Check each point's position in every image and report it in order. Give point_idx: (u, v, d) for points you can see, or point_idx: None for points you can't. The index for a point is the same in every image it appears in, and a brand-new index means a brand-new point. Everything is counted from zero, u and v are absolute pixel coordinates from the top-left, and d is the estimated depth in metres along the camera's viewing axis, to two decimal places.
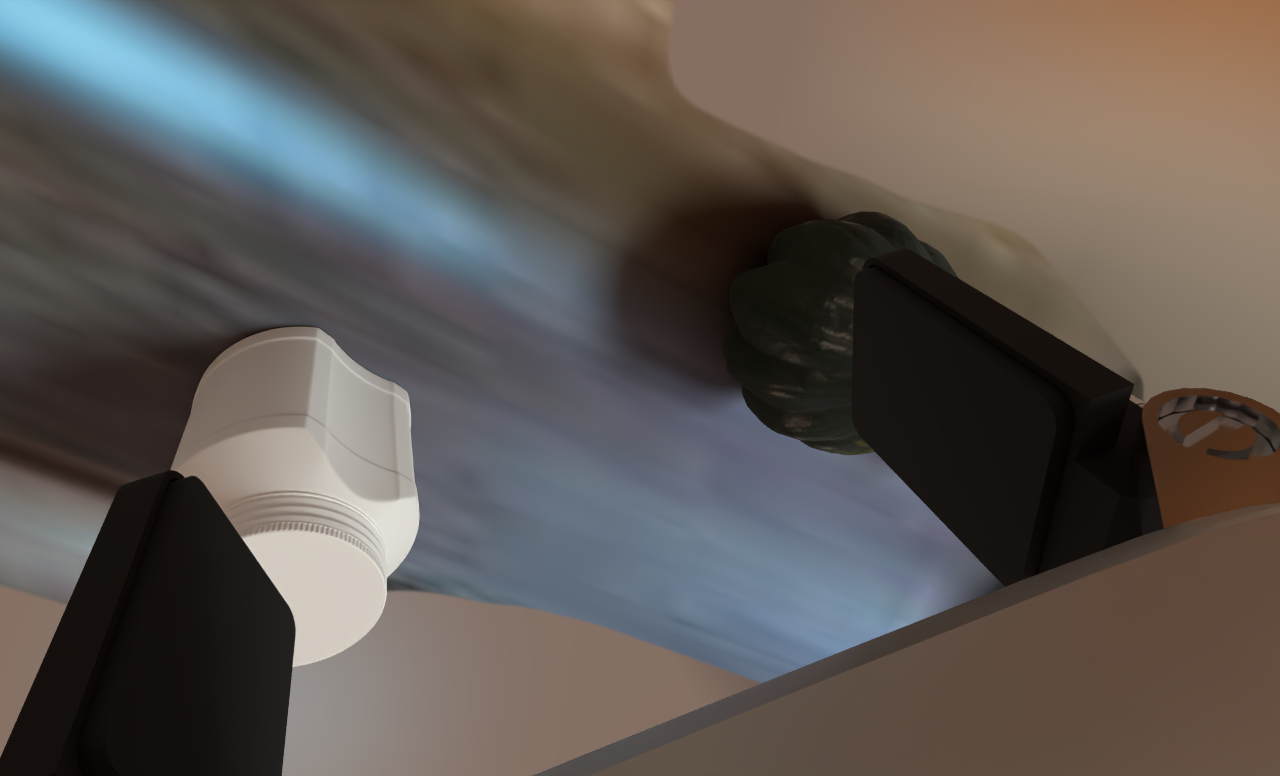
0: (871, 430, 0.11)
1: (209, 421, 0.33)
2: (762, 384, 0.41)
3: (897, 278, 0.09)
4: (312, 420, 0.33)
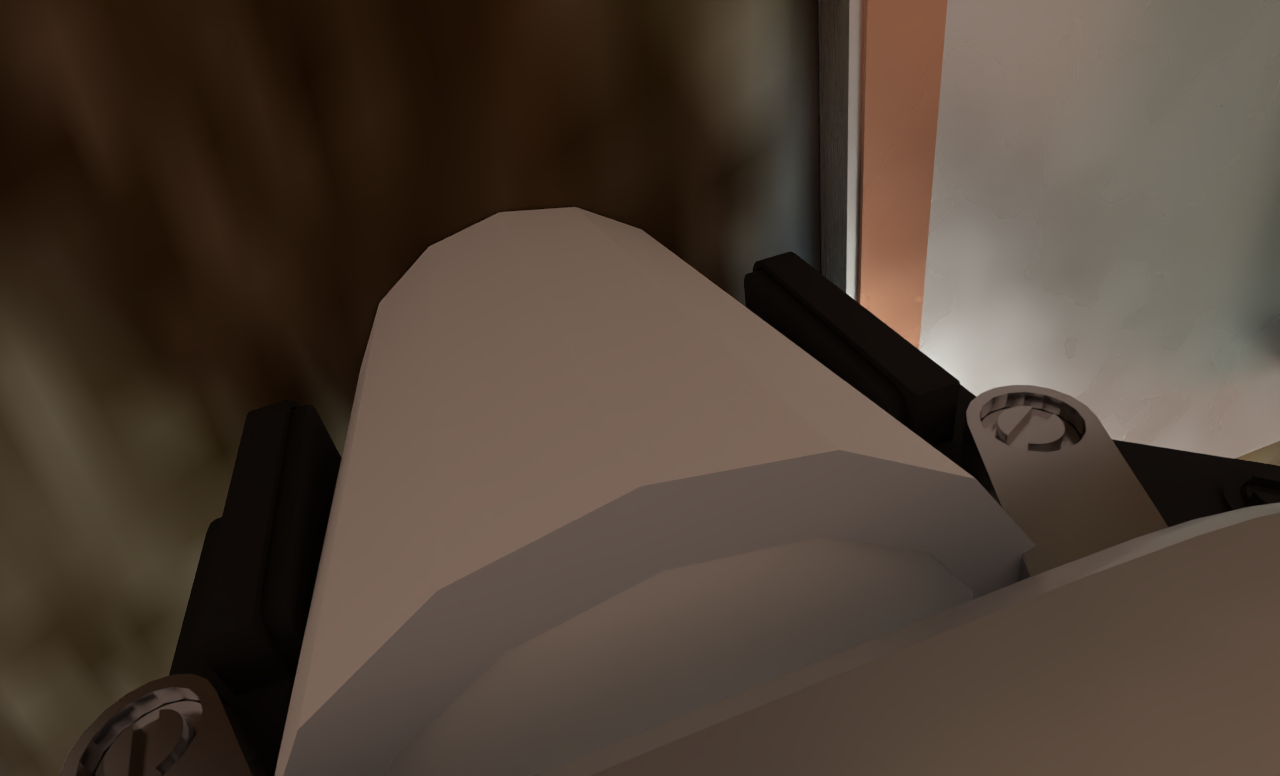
0: None
1: None
2: None
3: (777, 281, 0.10)
4: None
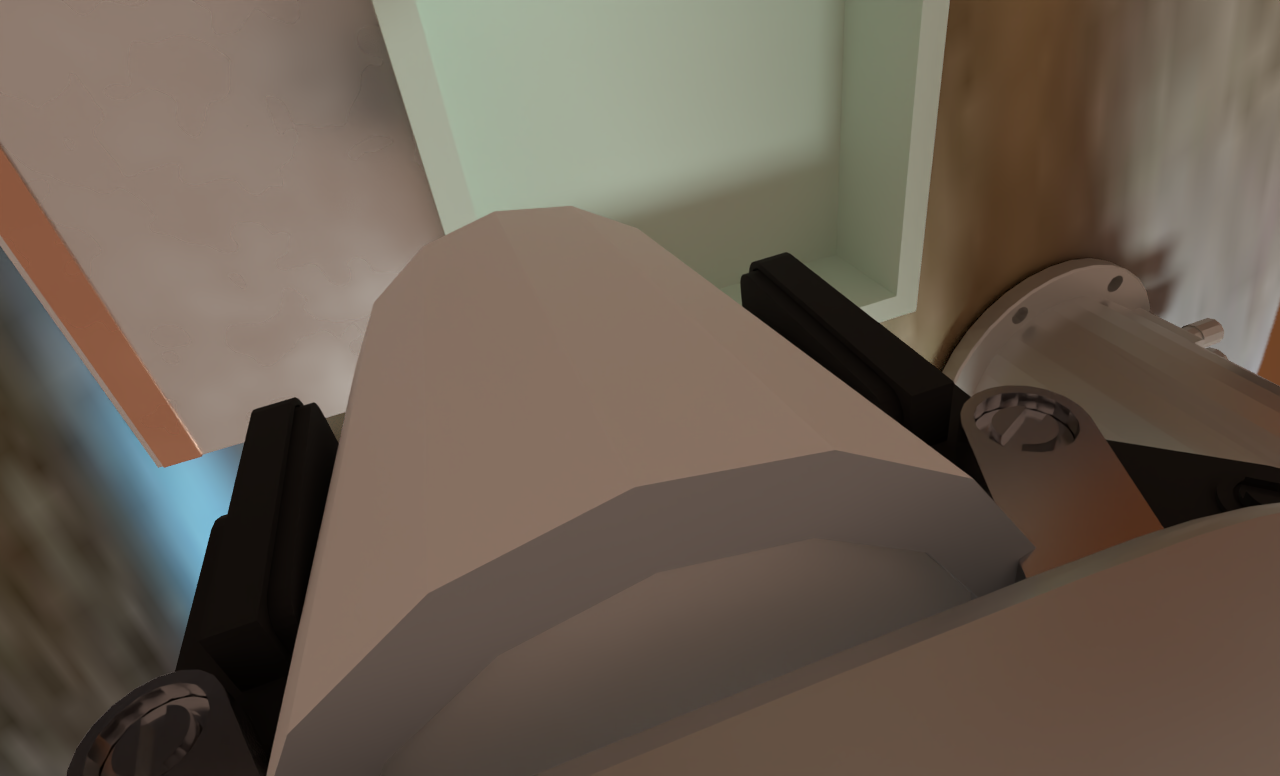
0: None
1: None
2: None
3: (773, 281, 0.10)
4: None
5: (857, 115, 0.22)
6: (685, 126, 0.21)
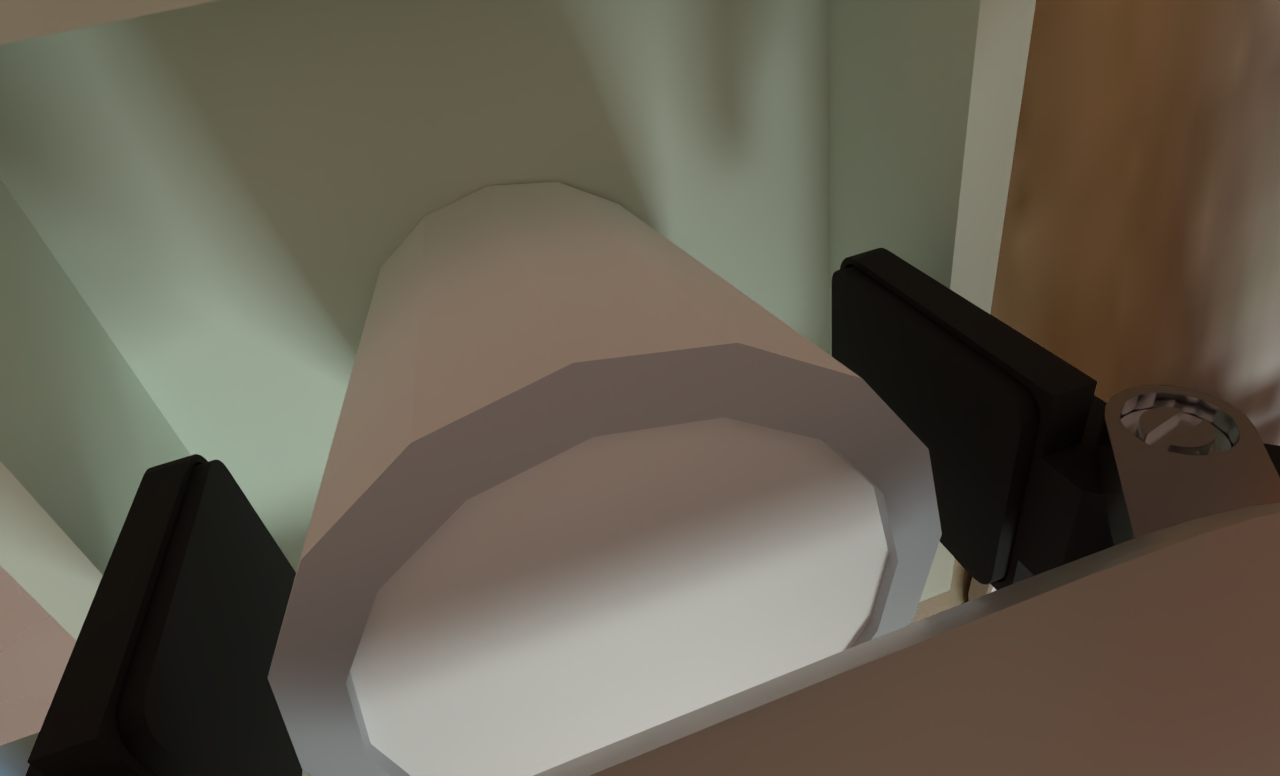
0: None
1: None
2: None
3: (872, 277, 0.10)
4: None
5: None
6: None
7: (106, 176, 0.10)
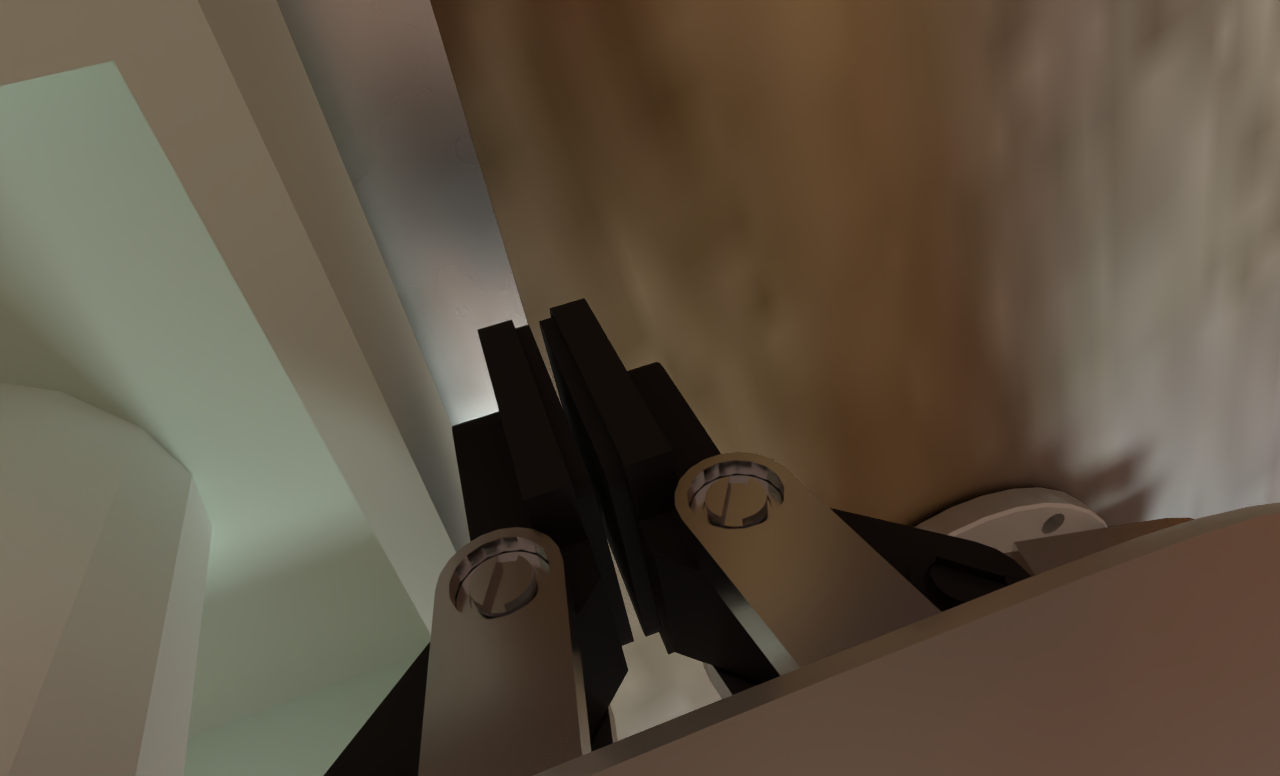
0: None
1: None
2: None
3: (559, 330, 0.10)
4: None
5: None
6: None
7: None
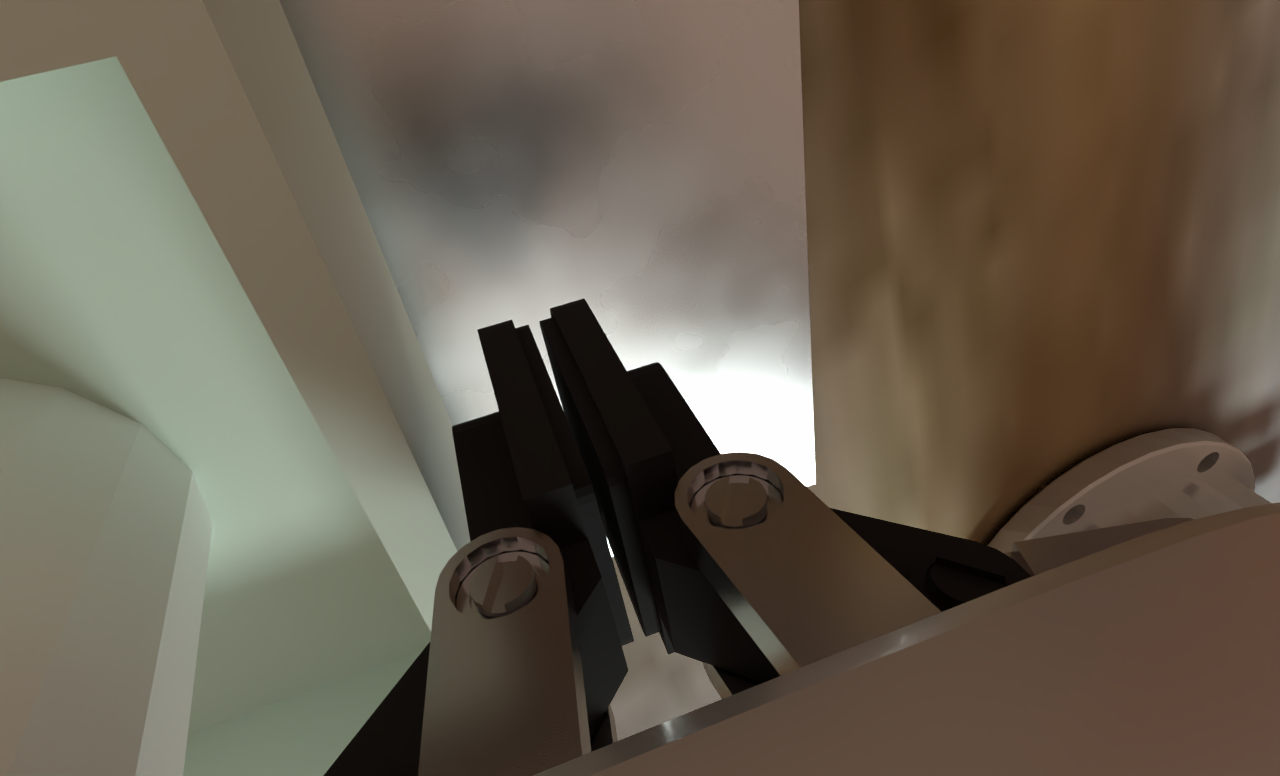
0: None
1: None
2: None
3: (559, 330, 0.10)
4: None
5: None
6: None
7: None
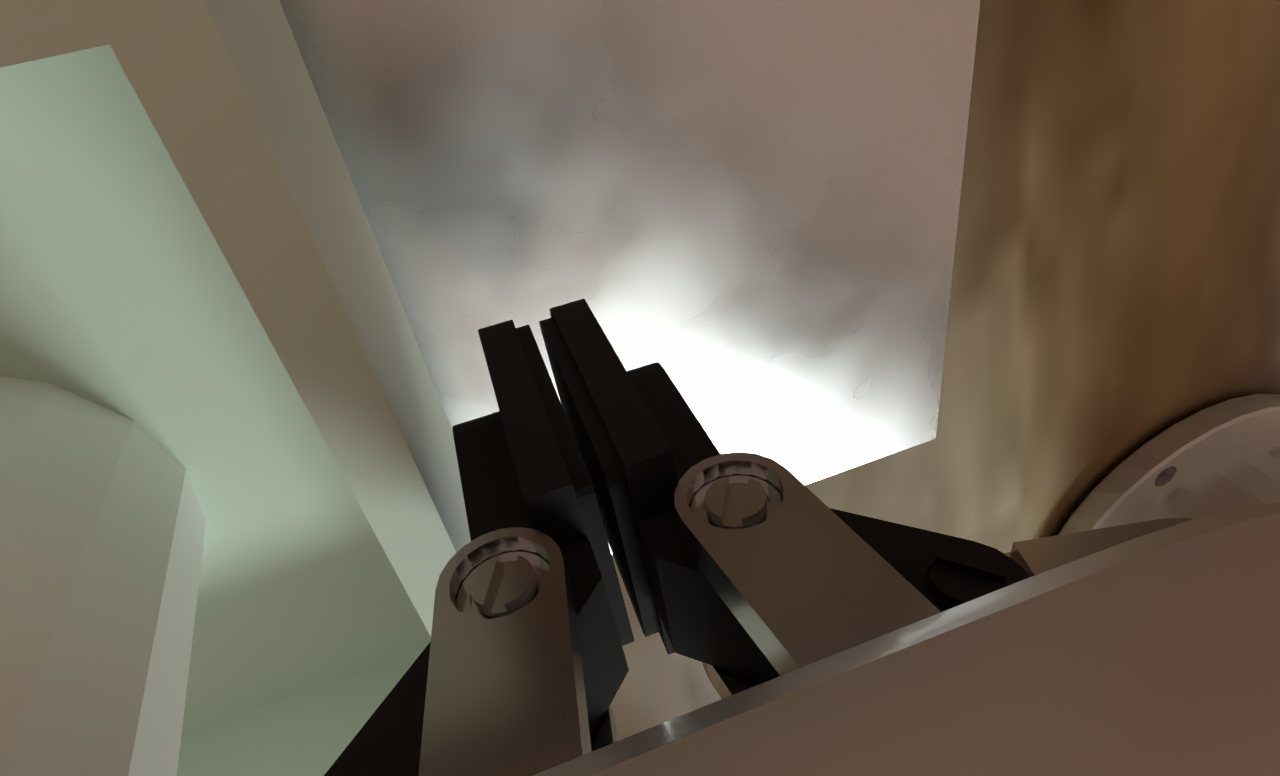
0: None
1: None
2: None
3: (559, 330, 0.10)
4: None
5: None
6: None
7: None
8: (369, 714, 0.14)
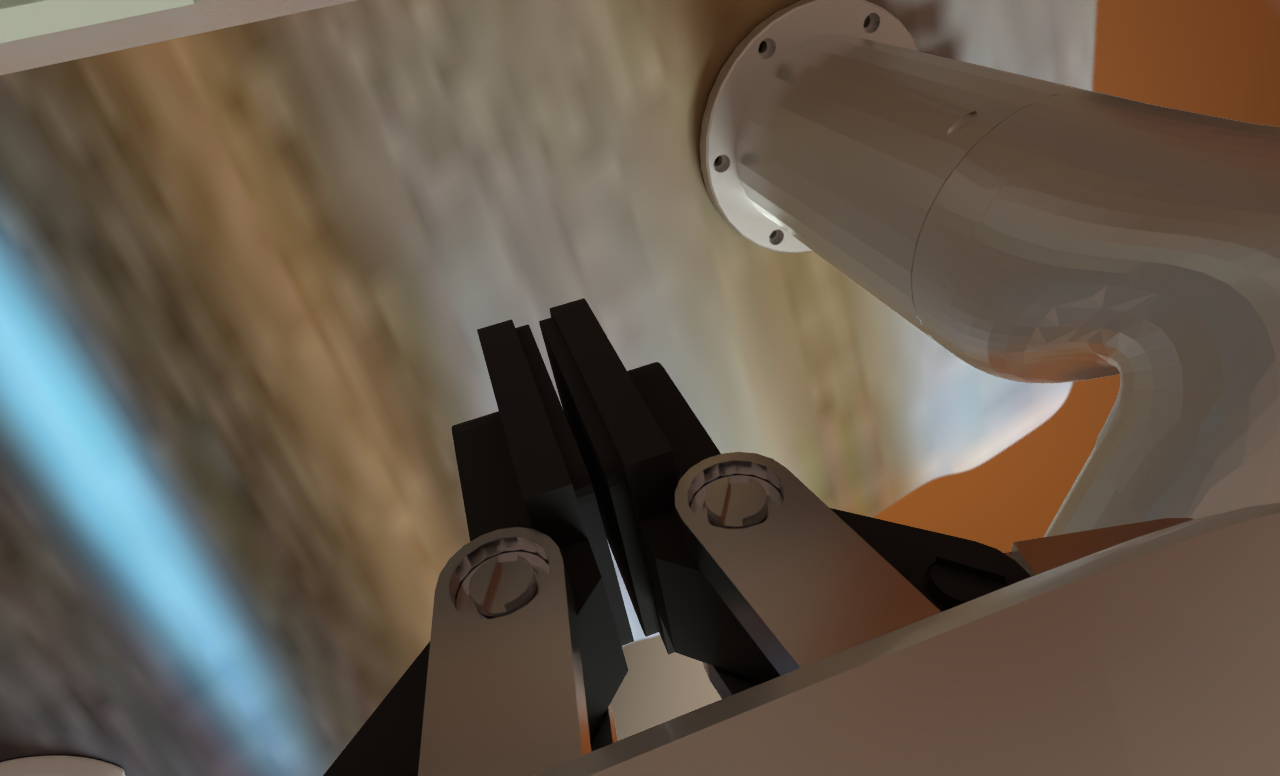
0: None
1: None
2: None
3: (559, 331, 0.10)
4: None
5: None
6: None
7: None
8: None
